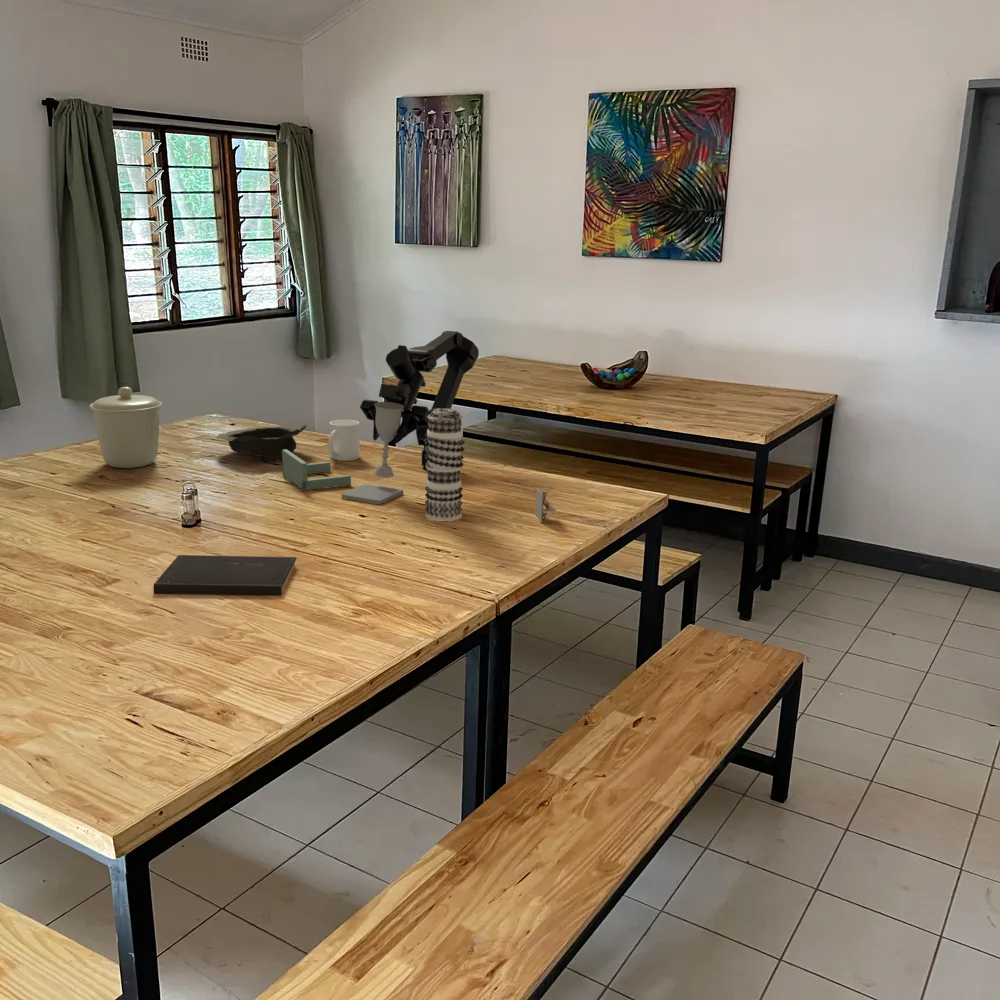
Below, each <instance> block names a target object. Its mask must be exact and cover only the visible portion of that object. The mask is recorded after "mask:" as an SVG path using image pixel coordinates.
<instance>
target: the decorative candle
mask: <svg viewBox="0 0 1000 1000" xmlns="http://www.w3.org/2000/svg"><path fill="white" fill-rule="evenodd" d="M427 417H428V429H427V433H425V434H426V435H424V436H425V437H426V438H425V440H424V442H425V444H426V445H427V446H426V448H425V451H426V455H425V458H426V460H428V461H427V462H426V464H425V465H426V468H427V469H426V470H427V478H426V486H425V488H424V489H425V491H426V493H425V494H424V496H425V498H426V500H425V501H424V504H425V508H424V510H425V512H426V513H425V515H424V516H425V519H428V520H430V521H433V520H434V521H433V522H441V521H443V522H442V523H444V521H448V522H454V520H455V521H458V520H460V519H462V517H463V515H462V511H463V508H462V505H463V502H462V497H463V494H462V492H463V487H462V479H461V475H462V473H461V471H462V470H463V467H464V463H463V462H462V460H464V459H465V458H464V456H463V455H462V454H461V453H462V452H464V451H465V450H466V449H465V447H463V445H464V444H465V440H463V439H461V438H462V437H463V430H462V419H463V418H464V416H462V415H460V412H459V411H458V410H457V409H454V408H451V409H450V408H439V409H435V410H433V411H432V412H431V414H430V415H428V416H427ZM428 440H429V442H428ZM459 518H460V519H459ZM457 519H458V520H457Z"/></svg>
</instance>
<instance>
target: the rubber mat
mask: <svg viewBox="0 0 1000 1000" xmlns="http://www.w3.org/2000/svg"><path fill="white" fill-rule="evenodd" d="M402 495H404V490H403V489H399V488H394V487H393V488H392V487H386V486H381V485H373V484H366V483H364V484H362V485H360V486H357V487H355V488H353V489H351V490H348V491H346V492H344V493H341V496H340V497H341V498H340V499H342V498H346V499H345V500H348V499H350V501H354V500H355V502H360V501H361V503H366V502H368V503H367V504H372V503H375V504H374V505H379V504H381V505H382V503H383V504H384V502H385V503H388V502H389V501H391V500H393V498H394V499H396V498H398V497H400V496H402ZM395 497H396V498H395Z"/></svg>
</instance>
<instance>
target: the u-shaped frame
mask: <svg viewBox="0 0 1000 1000" xmlns="http://www.w3.org/2000/svg"><path fill="white" fill-rule="evenodd" d="M281 462H282V476H283V477H284V476H285V477H286V479H287V480H290V481H289V482H291V483H292V482H293V483H294V484H293V483H292V484H293V485H295V486H296V485H297V486H298V487H297V486H296V487H297V488H299V489H300V488H301V489H302V490H303V492H305V491H304V490H307V491H311V490H310V489H316V490H319V489H318V488H325V487H326V488H325V489H328V488H327V487H333V488H337V487H336V486H342V487H347V486H346V485H351V486H352V475H350V474H345V475H337V476H328V477H318V478H310V479H309V478H308V475H311V474H310V473H314V474H320V473H319V472H324V473H331V472H332V471H331V462H330V461H323V462H322V461H321V462H313V463H307V462H306V461H304V460H303V459H302V458H300V457H299V456H297V455H295V454H294V453H291V452H290V451H288V450H287V449H285V450H282V460H281ZM285 477H284V478H285ZM334 486H335V487H334ZM301 489H300V490H301ZM302 490H301V491H302Z"/></svg>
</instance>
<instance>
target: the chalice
mask: <svg viewBox="0 0 1000 1000" xmlns="http://www.w3.org/2000/svg"><path fill="white" fill-rule="evenodd" d="M375 407H376V420H375V424H376V428H377V432H378V434H379V439H380V440H381V441H382V442H383V444H384V445H383V447H382V450H383V454H382V455H381V457H382V462H381V463H380V464H378V466H376V469H375V471H374V472H373V475H374V476H376V477H378V478H384V479H385V478H392V477H394V476H395V474H394V472H393V469H392V466H391V465H390V464H389V463H388V459H389V457H390V456H389V455H388V452H389V450H390V448H389V443H390V442H391V441H394V439H395V436H396V434H397V432H398V429H399V427H400V425H401V423H402V417H401V411H402V409H403V408H404V406H403V405H401V404H399V403H393V402H384V401H378V403H375Z"/></svg>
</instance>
